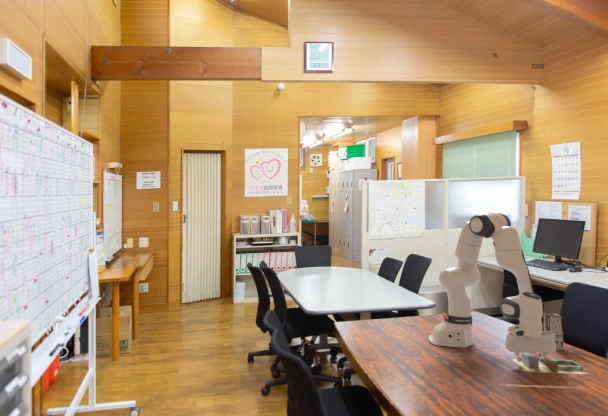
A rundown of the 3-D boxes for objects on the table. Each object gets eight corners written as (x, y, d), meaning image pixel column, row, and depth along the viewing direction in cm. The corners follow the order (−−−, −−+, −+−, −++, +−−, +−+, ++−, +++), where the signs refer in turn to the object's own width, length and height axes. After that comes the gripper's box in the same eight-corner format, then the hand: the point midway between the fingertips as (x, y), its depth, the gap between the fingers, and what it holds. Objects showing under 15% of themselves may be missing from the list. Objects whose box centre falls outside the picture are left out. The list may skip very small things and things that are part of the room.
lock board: (524, 373, 180) (524, 364, 180) (510, 360, 195) (510, 351, 195) (589, 376, 178) (589, 366, 178) (570, 362, 193) (570, 353, 193)
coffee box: (563, 350, 209) (564, 317, 209) (549, 349, 211) (549, 316, 210) (556, 344, 218) (557, 312, 218) (543, 343, 219) (543, 311, 219)
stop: (529, 368, 184) (529, 358, 184) (522, 362, 191) (522, 352, 191) (538, 368, 184) (538, 358, 184) (531, 362, 191) (531, 352, 191)
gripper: (552, 328, 189) (551, 359, 190) (504, 327, 191) (503, 358, 191) (559, 333, 183) (558, 365, 183) (509, 331, 185) (509, 363, 185)
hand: (530, 361), depth 187 cm, fingers open, 8 cm apart
